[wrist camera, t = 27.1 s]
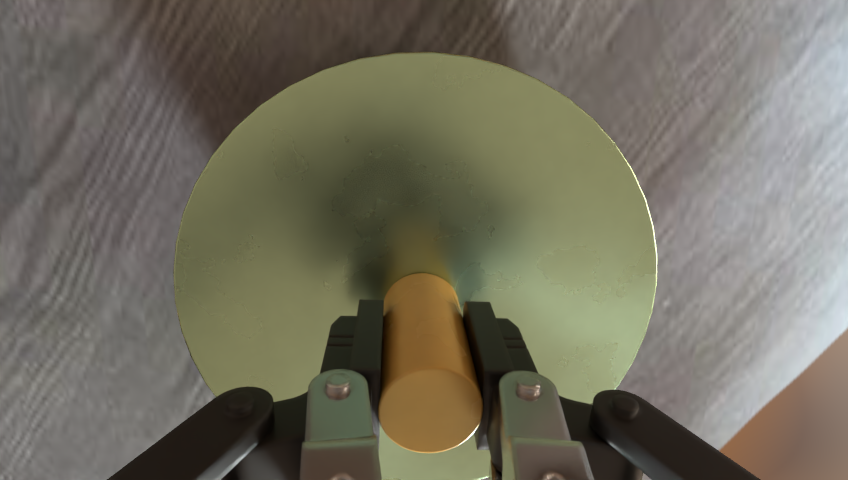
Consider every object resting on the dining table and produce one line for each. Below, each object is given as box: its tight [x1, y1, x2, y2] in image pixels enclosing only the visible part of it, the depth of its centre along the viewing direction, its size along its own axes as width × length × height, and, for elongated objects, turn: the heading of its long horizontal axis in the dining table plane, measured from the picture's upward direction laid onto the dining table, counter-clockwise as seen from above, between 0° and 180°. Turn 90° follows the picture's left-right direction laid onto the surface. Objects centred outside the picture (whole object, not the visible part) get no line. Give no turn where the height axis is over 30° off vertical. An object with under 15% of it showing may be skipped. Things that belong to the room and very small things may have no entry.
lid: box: [173, 52, 657, 480], centre depth 14 cm, size 15×15×6 cm
